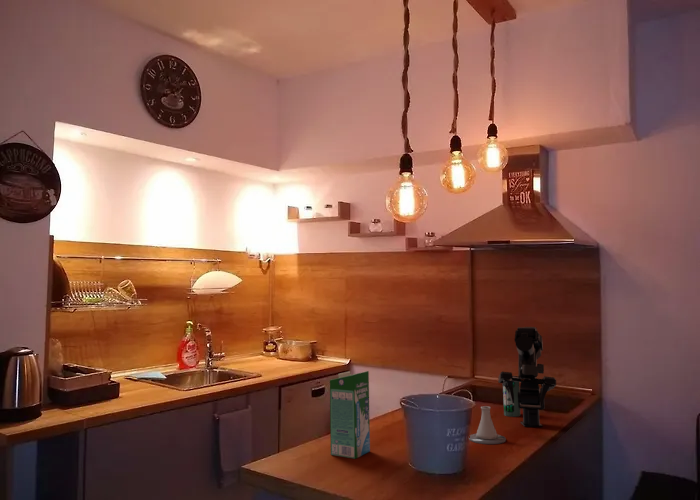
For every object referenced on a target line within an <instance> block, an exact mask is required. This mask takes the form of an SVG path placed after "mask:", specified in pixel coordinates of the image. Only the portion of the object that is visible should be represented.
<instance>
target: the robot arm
mask: <svg viewBox="0 0 700 500" xmlns="http://www.w3.org/2000/svg"><path fill="white" fill-rule="evenodd" d="M513 339H514V343H515V347H516V351H517V353H518V357H517V358H518V361H517V362H518V365H517V366H518V367H517V368H518V369H517V371H518V373H517V375H513V372H512V371H511V372H510V371H504V370H503V371H501V372H500V373H499V375H498V383H499V384H501V386H502V387H503V386H505V387H506V389H507V391H508V393H509V396H510V399H511V401H512V403H514V392H513V381H515V382H519V389H520V392H518V407H519V408H520V409H522V421H520V424H521V425H523V427H526V428H527V427H528V428H531V427H533V428H535V427H536V428H539V427H540V428H541V427H544V426H543V424H541V423H540V410H541V411H542V410H545V405H546V404H545V399H546V398H545V397H546V395H547V393H548V392H550V391H551V390H553V389H554V388H555V387H556V386H557V379H556V378H555V377H554V376H546V375H544V376H543V377H542V378H537V377H538V376H539V374H542V375H543V374H545V373H544V372H545V364H544V363H538V362H537V361H538V360H539V359H540V357H541V356H542V351H544V346H543V345H544V343H543V336H542V335H541V333H539V331H538V329H537V327H535V326H521V327H520V326H519V327H517V330H516V329H515V334H514V338H513ZM540 386H541V388H540Z"/></svg>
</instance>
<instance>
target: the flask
mask: <svg viewBox="0 0 700 500" xmlns="http://www.w3.org/2000/svg"><path fill="white" fill-rule="evenodd" d="M480 409H481V418H480V421H479V424H478V427H477V430H476V433H475V434H476V437H477V438H481V439H496V438H497V437H498V435H499V434H498V433H497V431H496V427H495V426H494V422H493V420H492V417H491V406H487V405H484V406H483V405H482V406H480ZM497 434H498V435H497Z"/></svg>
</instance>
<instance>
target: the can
mask: <svg viewBox="0 0 700 500" xmlns="http://www.w3.org/2000/svg"><path fill="white" fill-rule="evenodd" d="M513 392H514V403H512V401H511V399H510V396H509V393H508V391H507V389H506V387H505V386H502V393H503V394H502V395H503V396H502V397H503V400H502V401H503V415H504V416H506V417H511V418H512V417H513V418H515V417H516V418H517V417H521V415H522V414H521V408H519V407H518V392H520V382H515V381H513Z"/></svg>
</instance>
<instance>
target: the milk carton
mask: <svg viewBox="0 0 700 500" xmlns="http://www.w3.org/2000/svg"><path fill="white" fill-rule="evenodd" d="M337 375H338V377H337V378H333V379H329V408H330V409H329V413H330V414H329V420H330V423H329V427H330V428H329V429H330V455H331V456H336V457H342V458H348V459H355V460H356V459H358V458H361V457H362V456H364V455H366V454H368V453H370V452H371V437H370V436H371V435H370V434H371V432H370V431H371V429H370V381H369V380H370V378H369V377H370V376H369V375H370V372H369V370H366V371H362V372H357V373H354V374H351V371H350V370H349V371H345V372H341V373H338V374H337Z"/></svg>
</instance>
